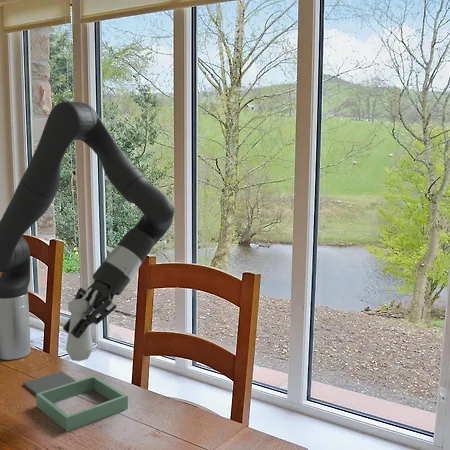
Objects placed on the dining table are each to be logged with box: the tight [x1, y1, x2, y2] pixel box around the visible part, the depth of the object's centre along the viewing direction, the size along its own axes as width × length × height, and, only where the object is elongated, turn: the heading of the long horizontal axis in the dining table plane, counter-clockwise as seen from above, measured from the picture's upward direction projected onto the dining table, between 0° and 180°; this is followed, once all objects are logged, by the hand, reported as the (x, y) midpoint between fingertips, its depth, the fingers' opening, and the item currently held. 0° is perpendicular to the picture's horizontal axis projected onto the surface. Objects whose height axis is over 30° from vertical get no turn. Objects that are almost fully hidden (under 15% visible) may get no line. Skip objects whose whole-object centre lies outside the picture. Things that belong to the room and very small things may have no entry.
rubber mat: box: [22, 370, 77, 396], centre depth 134 cm, size 10×10×1 cm
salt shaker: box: [65, 298, 94, 362], centre depth 120 cm, size 6×6×13 cm
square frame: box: [35, 375, 129, 432], centre depth 123 cm, size 15×15×3 cm
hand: (70, 333), depth 119 cm, fingers closed on salt shaker, 3 cm apart
